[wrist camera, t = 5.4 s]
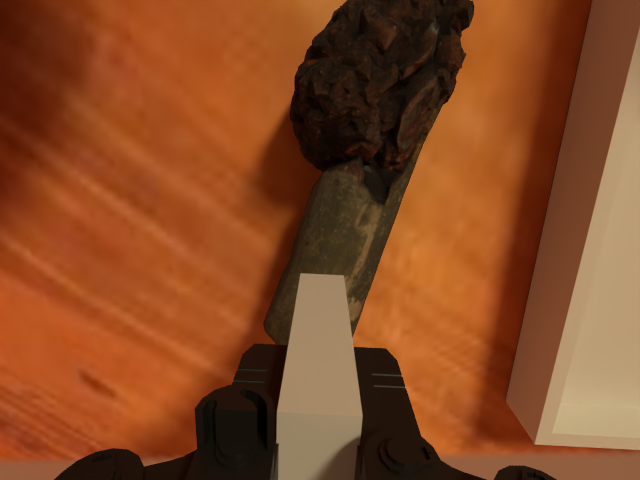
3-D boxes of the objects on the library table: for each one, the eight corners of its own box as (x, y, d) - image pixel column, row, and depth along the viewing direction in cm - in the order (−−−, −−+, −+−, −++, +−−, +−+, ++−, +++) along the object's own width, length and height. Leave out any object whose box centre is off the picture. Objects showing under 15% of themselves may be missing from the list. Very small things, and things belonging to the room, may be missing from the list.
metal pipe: (345, 327, 22) (355, 387, 17) (236, 294, 21) (210, 345, 16) (467, 13, 18) (534, -44, 13) (337, -38, 17) (347, -123, 12)
